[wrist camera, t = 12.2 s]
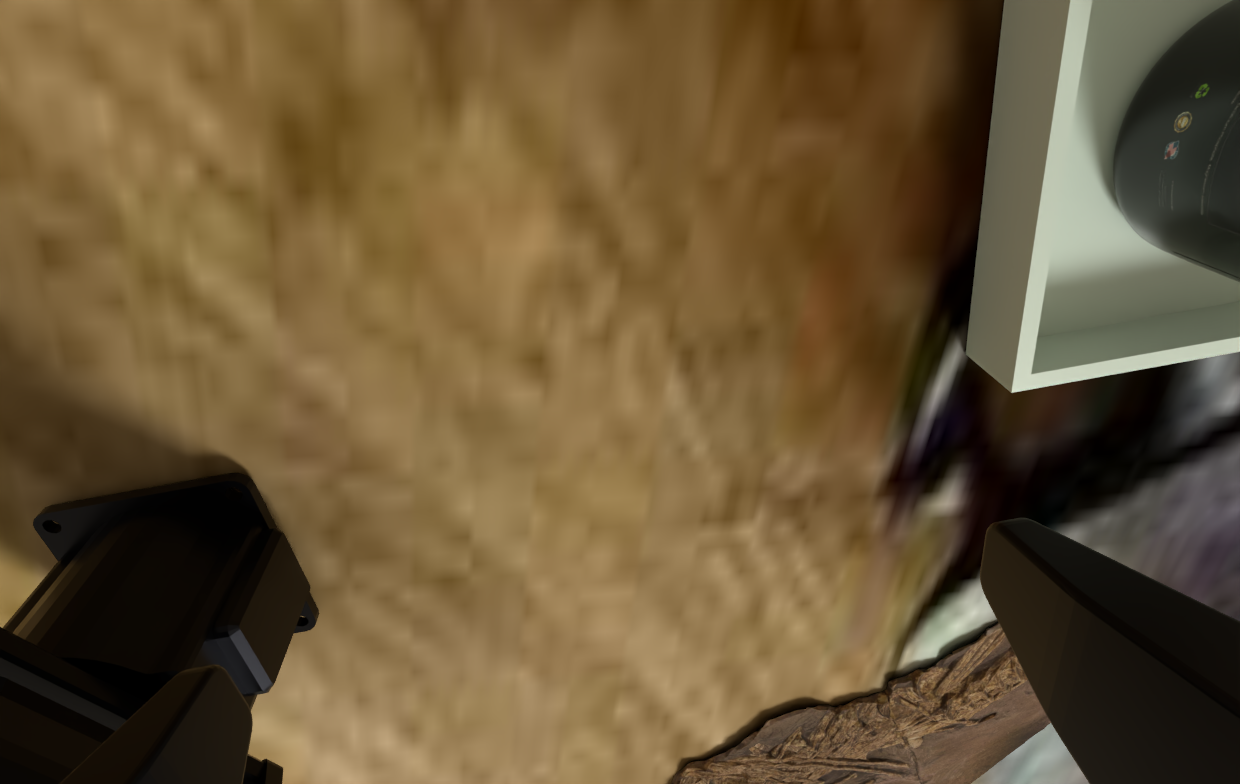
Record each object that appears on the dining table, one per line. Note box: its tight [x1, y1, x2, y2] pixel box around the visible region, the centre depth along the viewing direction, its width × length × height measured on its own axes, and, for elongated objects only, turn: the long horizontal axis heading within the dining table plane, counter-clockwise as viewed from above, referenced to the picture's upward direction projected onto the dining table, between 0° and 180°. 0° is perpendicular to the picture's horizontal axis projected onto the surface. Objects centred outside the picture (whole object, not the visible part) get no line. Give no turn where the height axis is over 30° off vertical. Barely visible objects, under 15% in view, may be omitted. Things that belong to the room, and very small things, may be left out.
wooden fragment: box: [672, 622, 1051, 784], centre depth 33 cm, size 26×11×1 cm, turn 117°
